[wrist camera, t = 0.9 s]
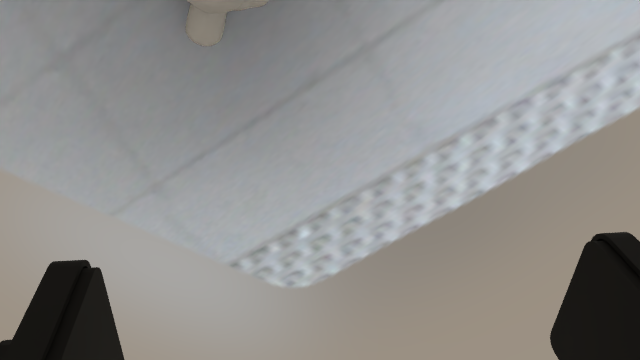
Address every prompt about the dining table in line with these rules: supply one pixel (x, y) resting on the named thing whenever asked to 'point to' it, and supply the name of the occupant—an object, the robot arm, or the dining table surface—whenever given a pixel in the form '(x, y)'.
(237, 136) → the dining table surface
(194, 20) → the beige rounded piece
